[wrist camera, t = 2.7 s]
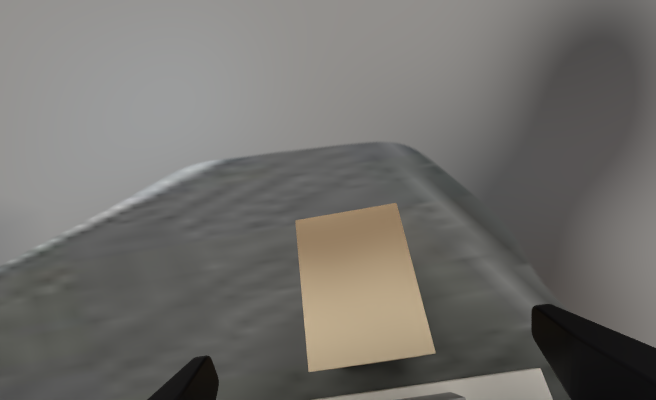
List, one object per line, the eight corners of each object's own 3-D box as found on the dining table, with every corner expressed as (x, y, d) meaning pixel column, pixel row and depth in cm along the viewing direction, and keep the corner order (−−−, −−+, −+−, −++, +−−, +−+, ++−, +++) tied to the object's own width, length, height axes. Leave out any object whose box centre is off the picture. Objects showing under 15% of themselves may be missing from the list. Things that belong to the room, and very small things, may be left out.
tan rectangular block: (404, 359, 17) (436, 352, 8) (341, 368, 17) (308, 372, 8) (386, 276, 19) (397, 203, 10) (331, 285, 19) (294, 220, 11)
